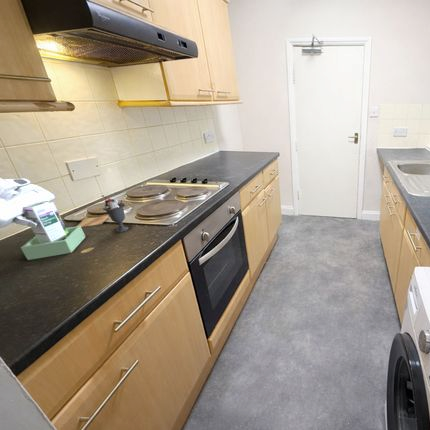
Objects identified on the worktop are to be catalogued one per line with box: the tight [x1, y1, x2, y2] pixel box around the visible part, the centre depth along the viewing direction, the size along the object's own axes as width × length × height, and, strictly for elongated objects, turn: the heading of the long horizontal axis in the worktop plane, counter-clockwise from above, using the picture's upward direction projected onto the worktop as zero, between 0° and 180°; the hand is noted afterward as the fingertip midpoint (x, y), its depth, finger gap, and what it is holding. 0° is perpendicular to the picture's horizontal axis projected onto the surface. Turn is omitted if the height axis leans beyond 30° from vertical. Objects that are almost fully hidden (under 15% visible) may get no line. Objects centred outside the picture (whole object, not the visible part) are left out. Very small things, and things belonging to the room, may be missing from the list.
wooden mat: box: [76, 214, 110, 228], centre depth 110 cm, size 9×9×1 cm
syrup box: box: [23, 201, 70, 244], centre depth 88 cm, size 6×6×14 cm
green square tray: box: [20, 225, 86, 261], centre depth 90 cm, size 11×11×5 cm
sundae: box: [101, 194, 129, 233], centre depth 100 cm, size 7×7×15 cm
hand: (47, 219), depth 87 cm, fingers closed on syrup box, 7 cm apart
